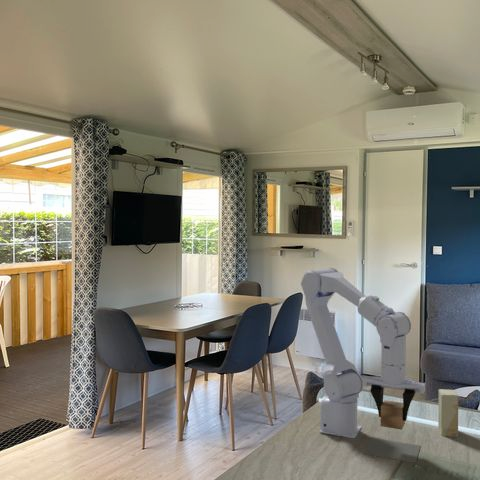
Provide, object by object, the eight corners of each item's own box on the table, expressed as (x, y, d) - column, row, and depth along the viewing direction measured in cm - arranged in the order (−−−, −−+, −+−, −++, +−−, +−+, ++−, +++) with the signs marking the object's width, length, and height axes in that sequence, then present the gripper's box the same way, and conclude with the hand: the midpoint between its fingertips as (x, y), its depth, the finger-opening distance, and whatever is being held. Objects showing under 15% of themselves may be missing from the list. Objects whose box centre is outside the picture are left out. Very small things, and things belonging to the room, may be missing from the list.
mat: (363, 454, 131) (363, 453, 131) (372, 439, 140) (372, 437, 140) (415, 464, 126) (415, 462, 126) (420, 447, 135) (420, 445, 135)
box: (458, 437, 141) (459, 395, 140) (440, 436, 142) (441, 394, 141) (454, 429, 146) (455, 389, 145) (437, 428, 147) (438, 388, 146)
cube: (380, 426, 132) (380, 405, 132) (384, 420, 136) (384, 400, 136) (401, 429, 130) (402, 408, 130) (404, 423, 134) (405, 403, 134)
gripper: (426, 362, 133) (425, 416, 134) (366, 355, 139) (366, 407, 140) (423, 369, 126) (422, 426, 127) (360, 362, 133) (360, 417, 133)
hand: (392, 417), depth 133 cm, fingers closed on cube, 5 cm apart
